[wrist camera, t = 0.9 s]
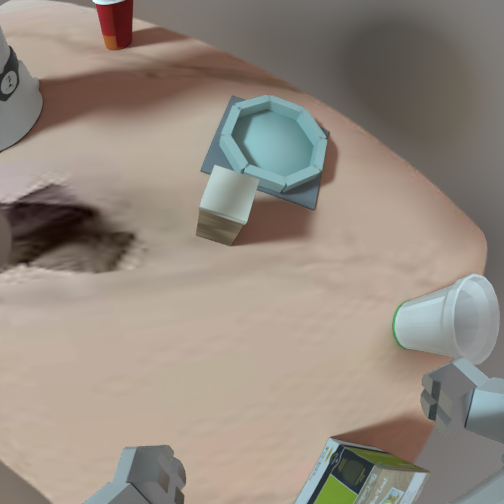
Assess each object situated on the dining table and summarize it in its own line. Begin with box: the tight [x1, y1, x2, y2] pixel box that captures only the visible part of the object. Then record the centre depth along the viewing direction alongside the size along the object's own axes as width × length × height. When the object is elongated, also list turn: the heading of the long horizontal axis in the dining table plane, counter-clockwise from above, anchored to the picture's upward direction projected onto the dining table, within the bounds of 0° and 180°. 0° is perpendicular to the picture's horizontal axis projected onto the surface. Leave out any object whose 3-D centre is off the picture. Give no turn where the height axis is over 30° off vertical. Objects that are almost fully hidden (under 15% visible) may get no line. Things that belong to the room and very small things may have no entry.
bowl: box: [219, 95, 327, 193], centre depth 46 cm, size 16×16×3 cm
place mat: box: [201, 96, 329, 210], centre depth 48 cm, size 18×16×1 cm
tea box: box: [294, 438, 431, 504], centre depth 31 cm, size 15×10×15 cm
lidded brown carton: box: [196, 165, 259, 246], centre depth 38 cm, size 5×5×11 cm
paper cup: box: [93, 0, 133, 50], centre depth 41 cm, size 8×8×14 cm
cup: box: [393, 273, 500, 365], centre depth 39 cm, size 12×12×15 cm
